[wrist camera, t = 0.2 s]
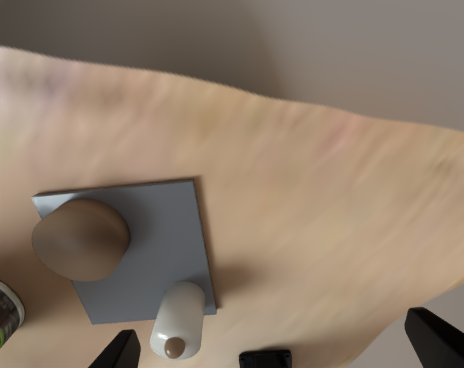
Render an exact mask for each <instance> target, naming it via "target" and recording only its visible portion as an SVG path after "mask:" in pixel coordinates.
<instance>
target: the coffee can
mask: <svg viewBox="0 0 464 368" xmlns="http://www.w3.org/2000/svg"><path fill="white" fill-rule="evenodd" d="M24 316H25V311H24V307H23V304H22V302H21V300H20V299H19V297H18V296H17V295H16V294H15V292H13V291H12V290H11V289H10V288H9V287H8V286H7V285H6V284H4V283H3V282H1V281H0V348H1V347H2V346H3V345H4V343H5V342H6V341H7V340H8V339H9V338H10V337H11V335H12V334H13V333H14V332H15V331H16V330H17V329H18V328H19V327H20V326H21V324H22V323H23V321H24Z"/></svg>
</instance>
